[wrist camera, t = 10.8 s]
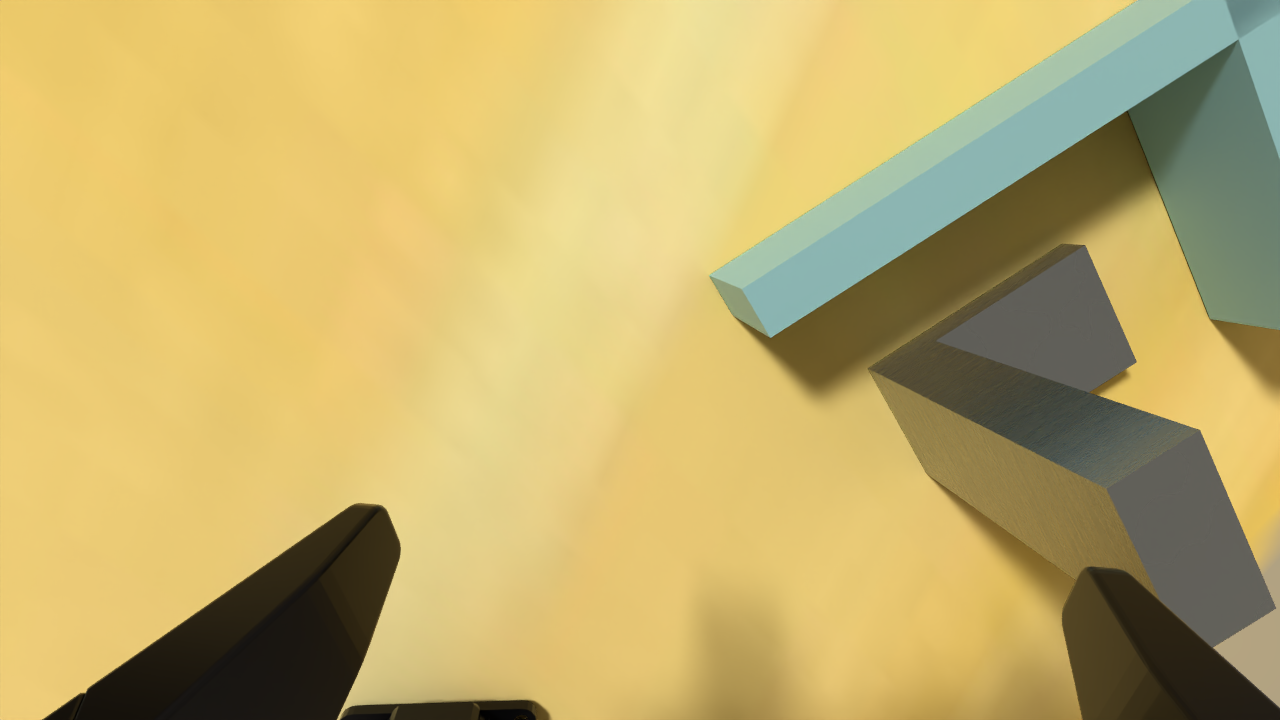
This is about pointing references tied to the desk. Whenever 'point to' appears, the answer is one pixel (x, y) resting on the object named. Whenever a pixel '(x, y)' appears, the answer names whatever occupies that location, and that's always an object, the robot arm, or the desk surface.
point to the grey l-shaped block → (1072, 444)
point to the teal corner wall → (1049, 124)
